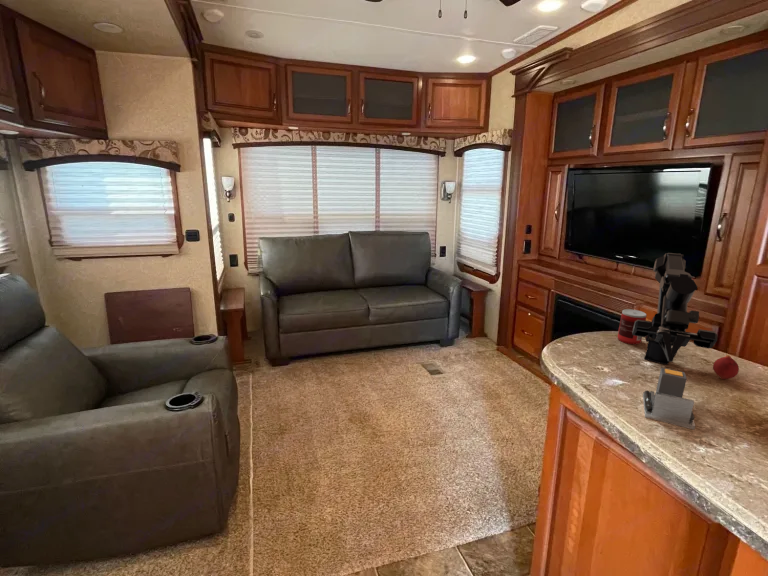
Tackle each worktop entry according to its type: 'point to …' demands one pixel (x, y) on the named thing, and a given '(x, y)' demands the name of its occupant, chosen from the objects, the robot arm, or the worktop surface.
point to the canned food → (630, 326)
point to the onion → (726, 367)
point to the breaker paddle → (671, 382)
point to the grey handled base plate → (669, 409)
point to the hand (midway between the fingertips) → (670, 361)
